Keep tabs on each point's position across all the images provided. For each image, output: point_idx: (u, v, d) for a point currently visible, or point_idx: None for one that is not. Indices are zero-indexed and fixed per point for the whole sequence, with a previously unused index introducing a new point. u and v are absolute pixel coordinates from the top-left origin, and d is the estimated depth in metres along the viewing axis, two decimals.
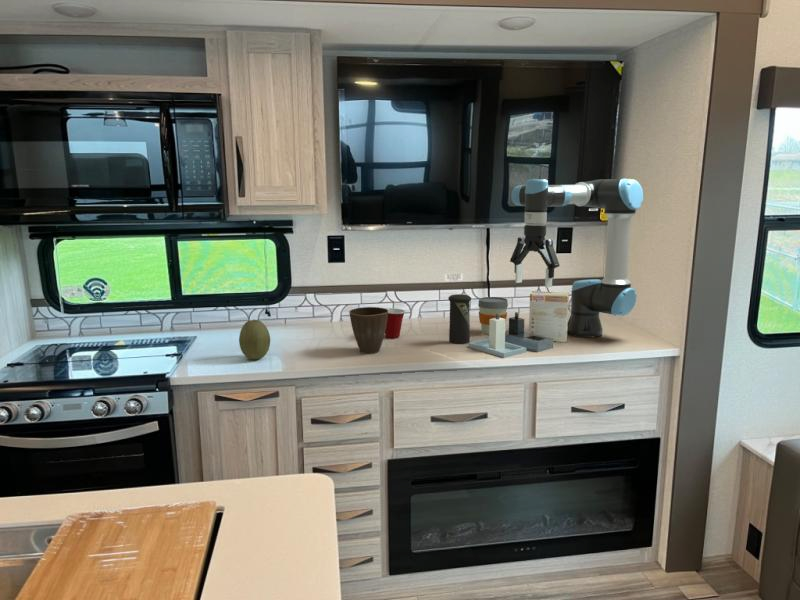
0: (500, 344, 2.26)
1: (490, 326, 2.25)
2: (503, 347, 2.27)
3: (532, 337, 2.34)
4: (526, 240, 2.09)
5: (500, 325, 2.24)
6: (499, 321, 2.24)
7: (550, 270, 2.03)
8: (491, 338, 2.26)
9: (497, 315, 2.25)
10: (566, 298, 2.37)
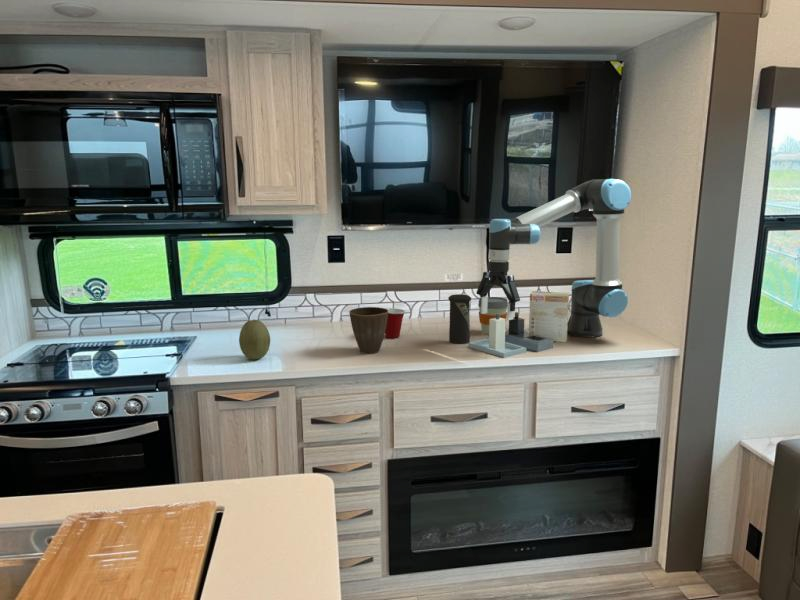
0: (500, 344, 2.26)
1: (490, 326, 2.25)
2: (503, 347, 2.27)
3: (532, 337, 2.34)
4: (490, 275, 2.24)
5: (500, 325, 2.24)
6: (499, 321, 2.24)
7: (511, 304, 2.17)
8: (491, 338, 2.26)
9: (497, 315, 2.25)
10: (566, 298, 2.37)
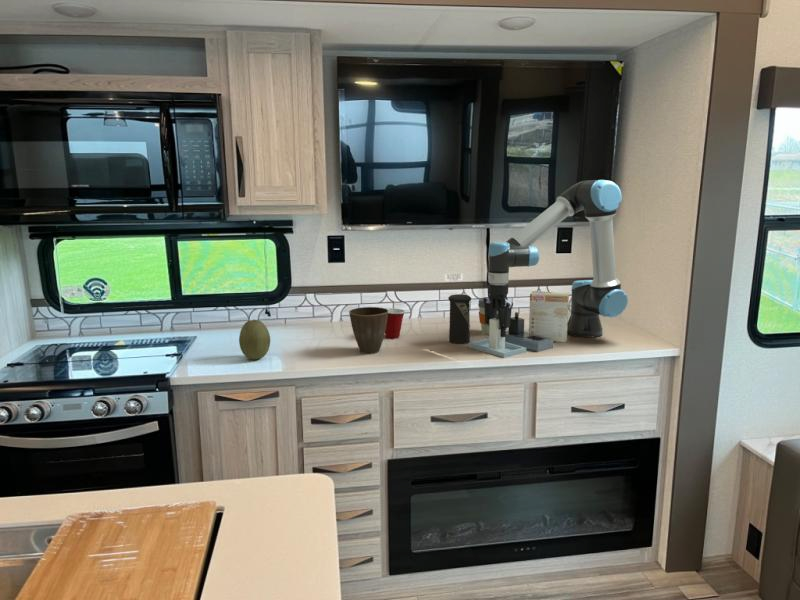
0: None
1: (490, 326, 2.25)
2: (503, 347, 2.27)
3: (532, 337, 2.34)
4: (490, 297, 2.26)
5: None
6: None
7: (502, 330, 2.23)
8: (491, 338, 2.26)
9: (497, 315, 2.25)
10: (566, 298, 2.37)
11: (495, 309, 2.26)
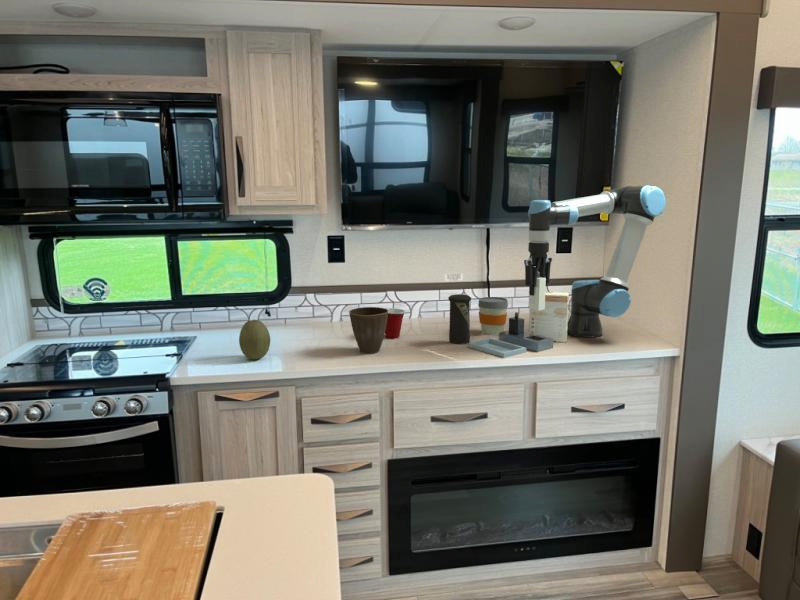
0: None
1: None
2: (536, 307, 2.25)
3: (532, 337, 2.34)
4: None
5: None
6: None
7: None
8: None
9: None
10: (566, 298, 2.37)
11: (540, 268, 2.25)
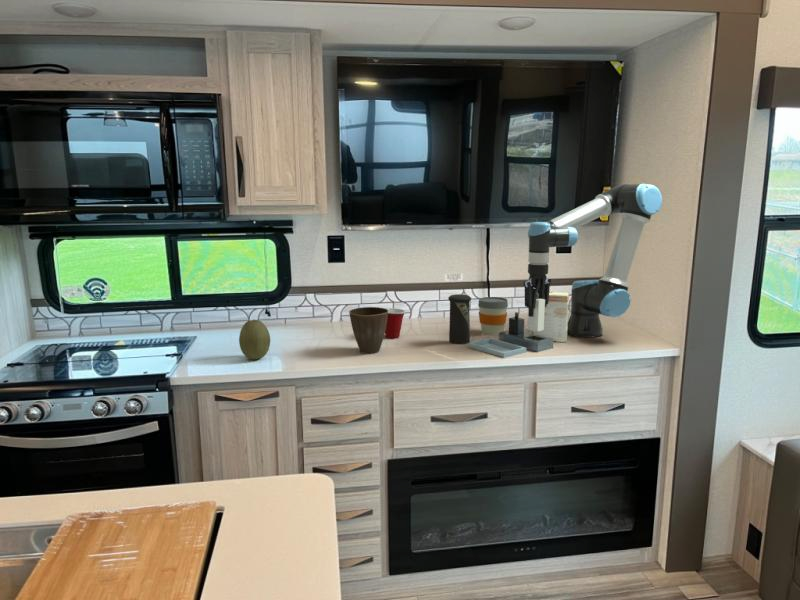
0: None
1: None
2: (535, 328, 2.27)
3: (532, 337, 2.34)
4: None
5: None
6: None
7: None
8: None
9: None
10: (566, 298, 2.37)
11: (539, 289, 2.27)
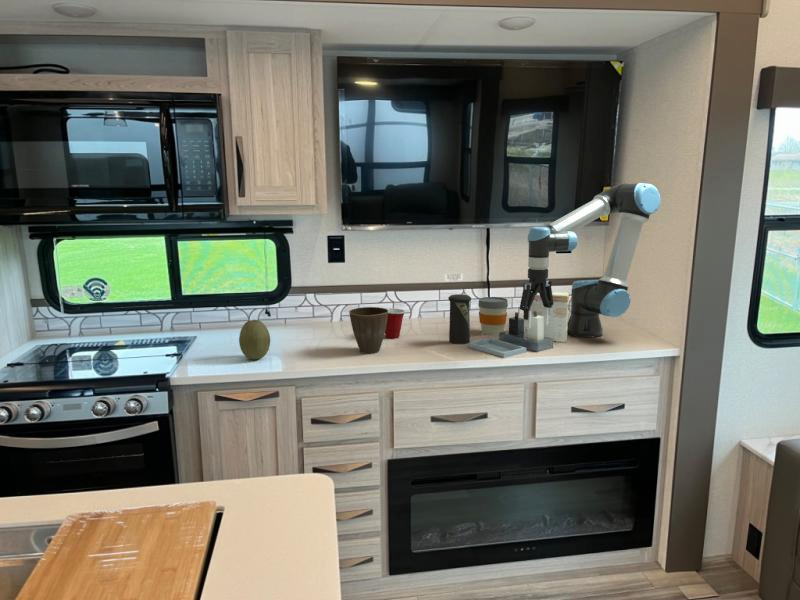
0: None
1: None
2: None
3: None
4: None
5: (532, 322, 2.27)
6: None
7: None
8: None
9: (533, 312, 2.28)
10: (566, 298, 2.37)
11: (541, 293, 2.28)
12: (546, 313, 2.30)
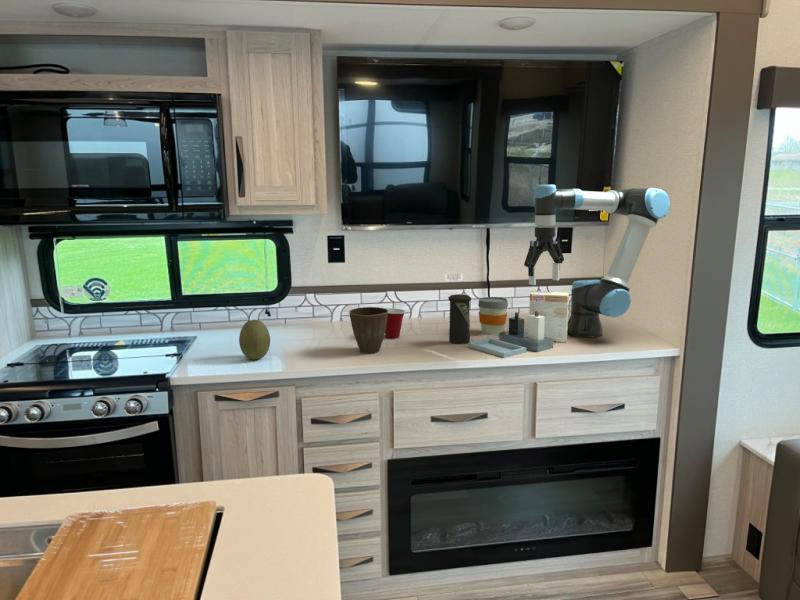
0: None
1: None
2: None
3: None
4: None
5: (533, 322, 2.28)
6: (531, 317, 2.28)
7: None
8: None
9: (535, 312, 2.28)
10: (566, 298, 2.37)
11: (550, 251, 2.26)
12: (557, 269, 2.29)
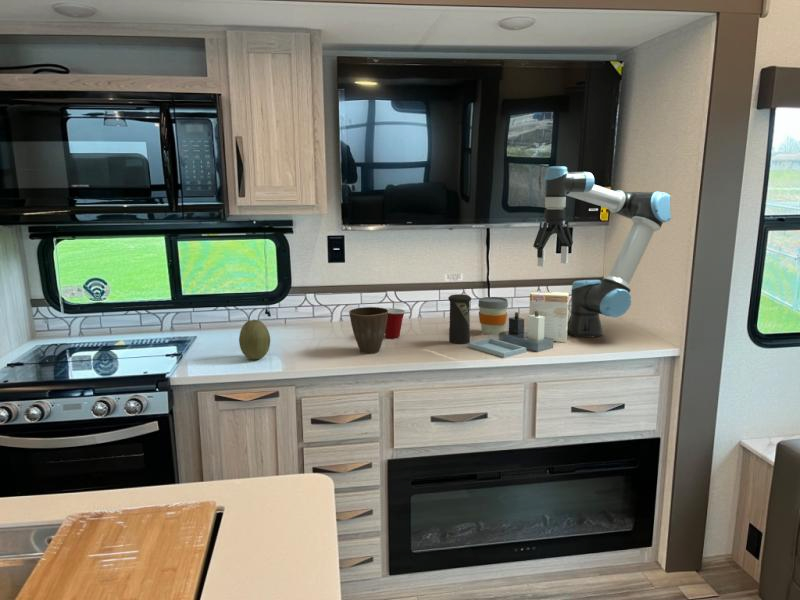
0: None
1: None
2: None
3: None
4: None
5: (533, 322, 2.28)
6: (531, 317, 2.28)
7: None
8: None
9: (535, 312, 2.28)
10: (566, 298, 2.37)
11: (559, 233, 2.26)
12: (565, 252, 2.29)
